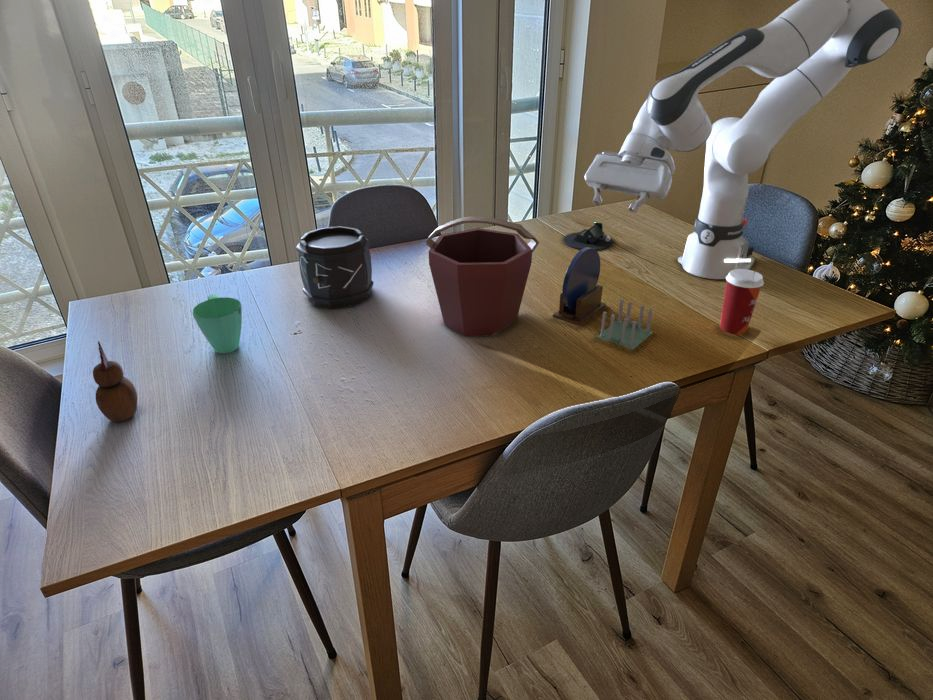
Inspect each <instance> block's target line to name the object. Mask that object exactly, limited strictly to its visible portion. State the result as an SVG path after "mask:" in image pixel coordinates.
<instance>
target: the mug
mask: <svg viewBox="0 0 933 700" xmlns="http://www.w3.org/2000/svg"><path fill="white" fill-rule="evenodd" d="M242 308H243V307H242V302H241V301H240V300H239V299H237V298H234V297H220V296H219V294H217V293H213V294H212V293H211V294H210V295H208V296H207V300H204V301H202V302H200V303H198V304H196V305H195V306H194V308H192V316H193V318H194V320H195V322H196V325H197V327H198V328H199V329H200V331H201V333H202V335H203V336H204V338H205V339H206V340H207V342H208V344H209V345H210V346H211V347H212V348H213V350H214V351H215V352H216V353H218V354H229V353H232V352H234V351H235V352H236V350H237V349H238V348H239V345H240V340H241V335H242V325H243V324H242V321H243V320H242V319H243V309H242Z"/></svg>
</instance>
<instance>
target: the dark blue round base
mask: <svg viewBox="0 0 933 700" xmlns="http://www.w3.org/2000/svg"><path fill="white" fill-rule="evenodd" d="M603 228H604V226H603V223H602V222H598V221H595V222H594V224H593V226H591V227H590V228H588V229H586V228H584V229H583V230H581V231H578V232H573V233H570V234H569V233H568V234H567V235H565V236H564V237H563V243H564V244H565V245H566V246H567V247H570V248H572V249H575V250H579V251H580V250H581V249H583V248H585V247H589V248H593V249H595V250H596V251H602V250H606V249H609V248H611V247H612V246H613V244H614V241H613V239H612V238H611V237H610V236H609V235H608V234H607V235H606V234H605V232H604V229H603Z"/></svg>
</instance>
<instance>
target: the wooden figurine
mask: <svg viewBox="0 0 933 700" xmlns="http://www.w3.org/2000/svg"><path fill="white" fill-rule="evenodd" d="M97 346H98V351H99V359H100V362H99V363H98V364H96V365H95V366H94V367H93V369H92V377H93V380H94V382H95V384H97V385H98V386H97V388H96V390H95V402H96V405H97V408H98V409H99V412H101V414H102V415H103V416H104V417H105V418H106V419H108V420H109V421H110V422H114V423H121V422H125V421H127V420H129V419H131V418H132V417H133V416H134V415H135V414H136V412H137V410H138V391H137V388H136V386H135V384H134V383H133V382H132V381H131V380H130V379H129V378H127V377H125V376H124V375H125V374H124V370H123V368H122V367H123V366H121V364H120V363H119V362H118V361H116V360H108V357H107V355H106V354H105V351H104V349H103V347H102V345H101V342H100V340H98V341H97Z"/></svg>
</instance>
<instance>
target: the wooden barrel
mask: <svg viewBox="0 0 933 700" xmlns="http://www.w3.org/2000/svg"><path fill="white" fill-rule="evenodd" d="M369 246H370V240H369V239H368V237H366V236H365V233H364V232H362V231H361V230H359V229H358V228H355V227H349V226H341V225H338V226H328V227H327V226H326V227H319V228H316V229H314V230H310V231H308V232H307V231H306V232H305V233H304V234H303V236H302V237H300V239H299V243H298V244H297V245H296V247H295V251H296V252H298V267H299V272H300V278H301V281H302V285H303V288H302V293H303V294H304V295H305V297H307V298H308V300H309V301H310V302H311V303H312V304H313V305H314V306H316V307H321V308H326V309H331V310H332V309H333V310H334V309H341V308H349V307H353V306H356V305H357V304H361V303H362V302H364V301H367V299H368V297H369V296H370V293H371V290H372V289H373V287H374V281H373V280H372V277H373V276H372V275H373V267H372V257H371V251H370V247H369Z"/></svg>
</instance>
